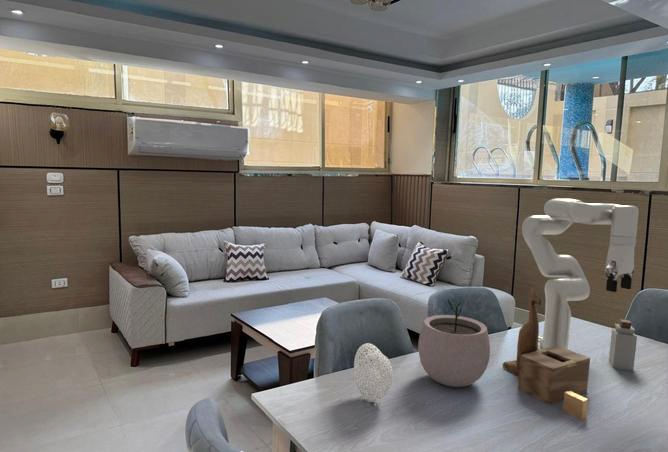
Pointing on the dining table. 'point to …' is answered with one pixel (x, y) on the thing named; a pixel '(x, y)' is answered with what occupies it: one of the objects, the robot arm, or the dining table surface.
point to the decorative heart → (372, 373)
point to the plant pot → (454, 349)
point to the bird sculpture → (526, 334)
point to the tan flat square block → (575, 405)
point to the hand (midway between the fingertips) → (618, 289)
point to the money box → (553, 373)
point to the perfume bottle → (623, 346)
